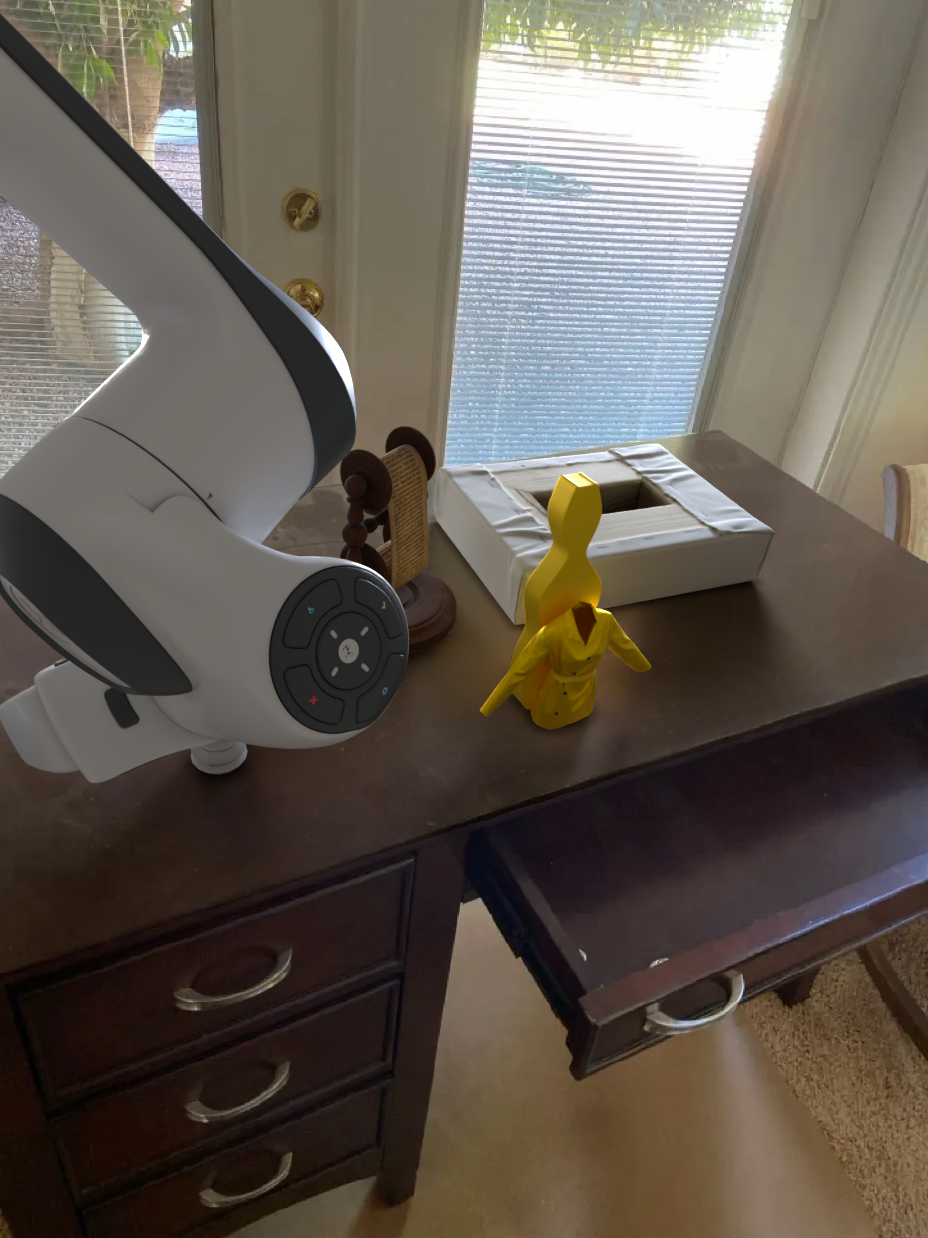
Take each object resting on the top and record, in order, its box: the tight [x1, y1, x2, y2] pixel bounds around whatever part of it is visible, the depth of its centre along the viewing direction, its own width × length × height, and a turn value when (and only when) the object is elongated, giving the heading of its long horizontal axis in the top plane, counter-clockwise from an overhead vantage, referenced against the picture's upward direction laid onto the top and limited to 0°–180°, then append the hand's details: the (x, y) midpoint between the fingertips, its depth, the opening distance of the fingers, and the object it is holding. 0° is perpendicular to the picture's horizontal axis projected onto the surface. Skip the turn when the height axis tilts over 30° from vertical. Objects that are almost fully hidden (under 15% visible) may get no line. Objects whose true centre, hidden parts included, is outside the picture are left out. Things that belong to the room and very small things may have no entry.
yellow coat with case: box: [479, 472, 652, 731], centre depth 75 cm, size 18×8×22 cm, turn 117°
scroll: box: [339, 425, 458, 655], centre depth 84 cm, size 15×15×20 cm
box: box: [433, 443, 775, 626], centre depth 103 cm, size 23×8×32 cm
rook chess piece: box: [190, 739, 248, 776], centre depth 70 cm, size 4×4×8 cm
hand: (145, 658), depth 60 cm, fingers open, 8 cm apart
